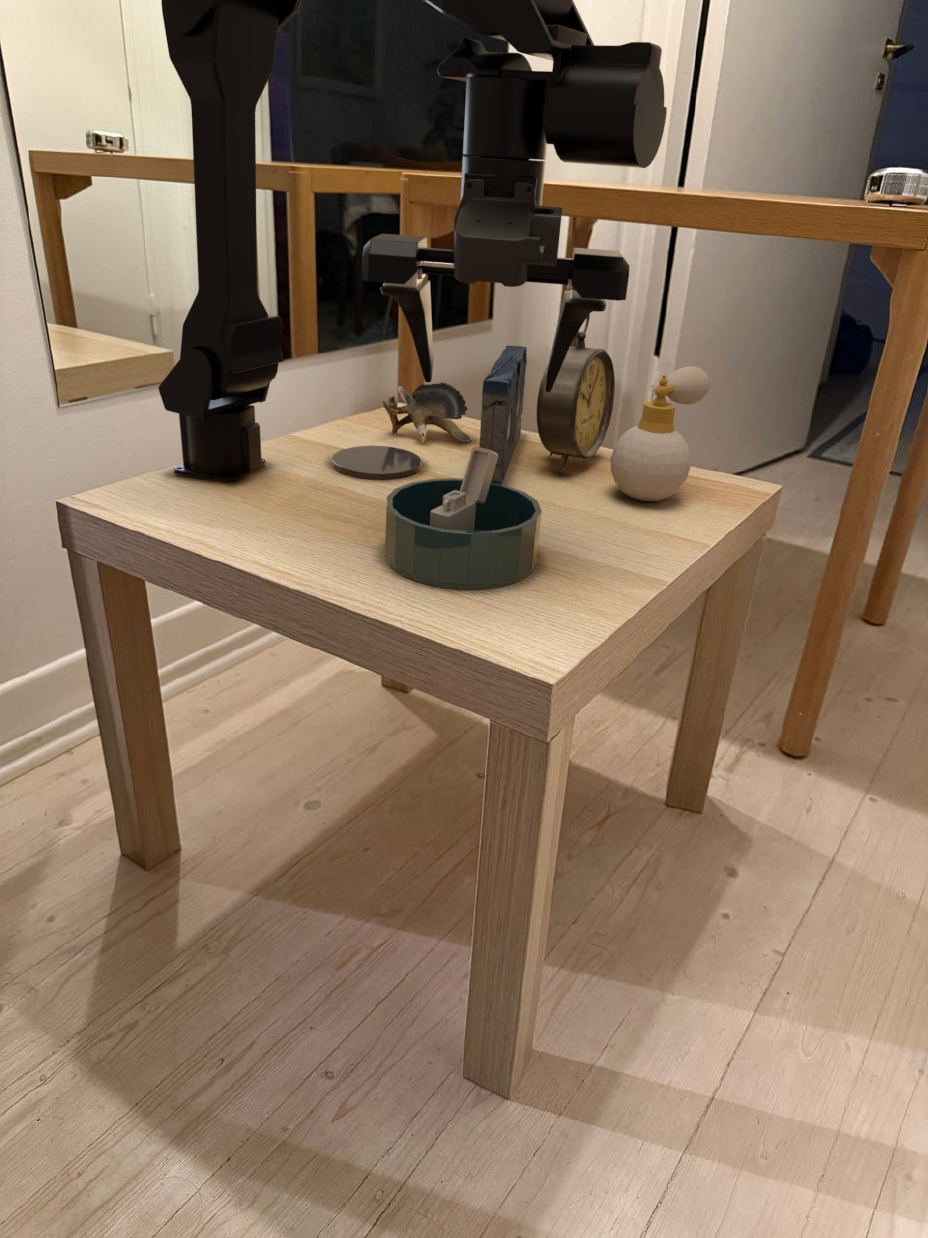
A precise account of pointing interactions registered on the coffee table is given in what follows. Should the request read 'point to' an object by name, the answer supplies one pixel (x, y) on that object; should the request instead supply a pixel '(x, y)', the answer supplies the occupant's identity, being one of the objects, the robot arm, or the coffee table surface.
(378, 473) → the coaster
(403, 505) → the shallow faceted bowl
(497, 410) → the vhs cassette tape
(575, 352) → the alarm clock
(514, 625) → the coffee table surface
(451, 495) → the lighter
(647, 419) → the perfume bottle
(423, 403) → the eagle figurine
